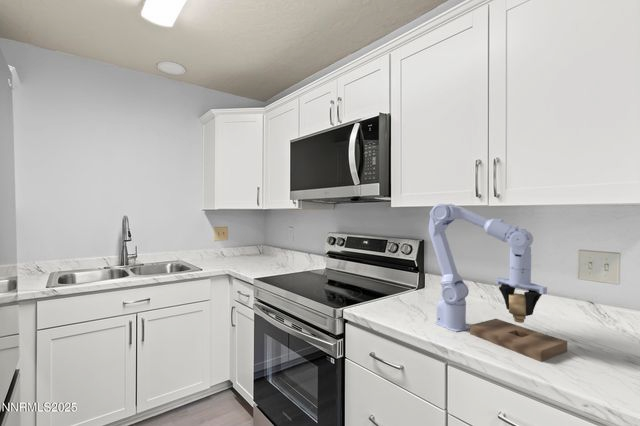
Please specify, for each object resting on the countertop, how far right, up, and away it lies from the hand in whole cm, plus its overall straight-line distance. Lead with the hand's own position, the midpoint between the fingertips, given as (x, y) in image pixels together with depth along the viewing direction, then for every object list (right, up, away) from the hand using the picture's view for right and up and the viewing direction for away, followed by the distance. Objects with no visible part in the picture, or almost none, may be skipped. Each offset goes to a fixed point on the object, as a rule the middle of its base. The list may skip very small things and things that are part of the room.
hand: (519, 311), depth 100 cm
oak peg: (0, -3, 0) cm, 3 cm away
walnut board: (-1, -10, +1) cm, 10 cm away
